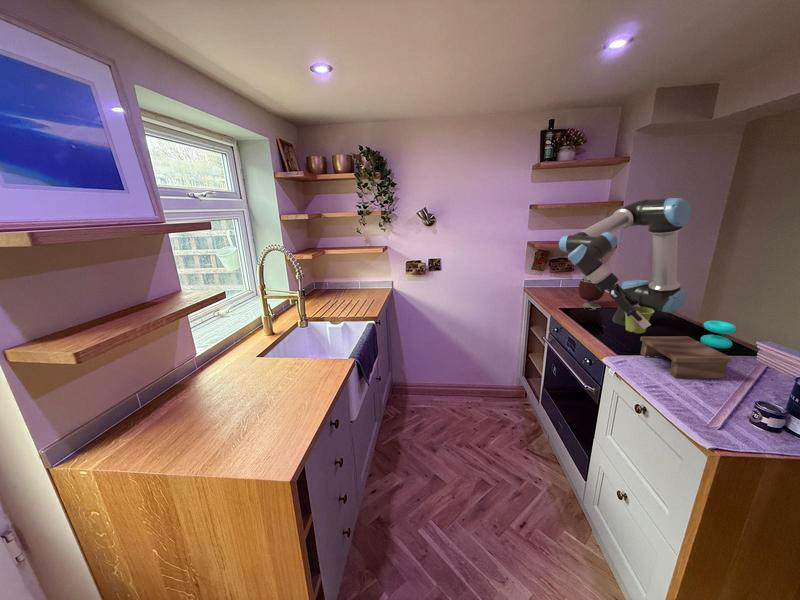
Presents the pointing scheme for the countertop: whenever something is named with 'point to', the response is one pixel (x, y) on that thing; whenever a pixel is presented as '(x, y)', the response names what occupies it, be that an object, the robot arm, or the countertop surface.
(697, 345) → the walnut shelf stand
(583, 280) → the mate gourd
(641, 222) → the robot arm
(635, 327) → the plant pot
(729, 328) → the donuts
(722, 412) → the countertop surface
